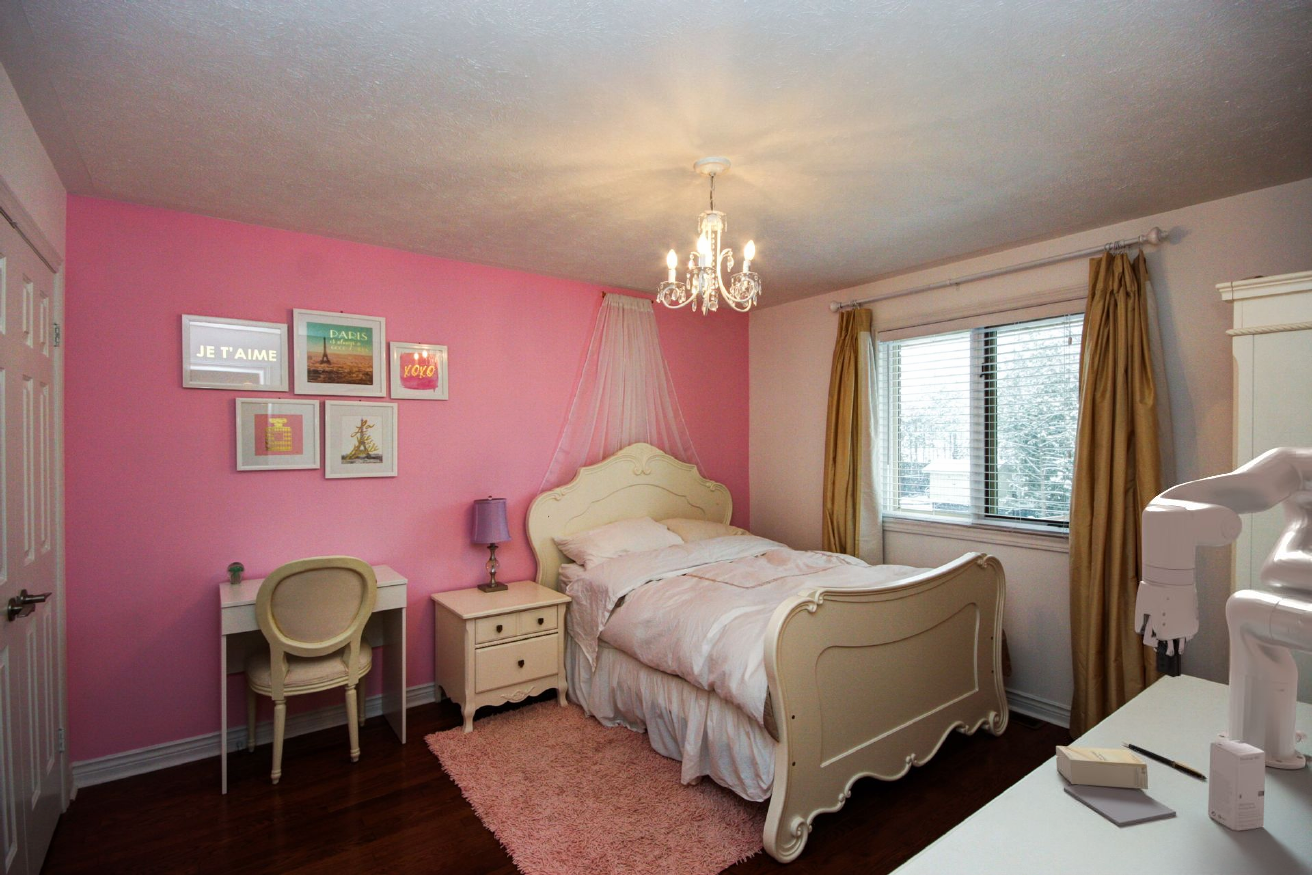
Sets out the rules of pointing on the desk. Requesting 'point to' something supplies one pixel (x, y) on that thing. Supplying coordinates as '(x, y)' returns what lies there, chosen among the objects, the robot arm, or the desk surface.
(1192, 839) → the desk surface
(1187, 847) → the desk surface
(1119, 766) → the skincare box
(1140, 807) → the mat
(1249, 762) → the skincare box
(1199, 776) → the fountain pen
